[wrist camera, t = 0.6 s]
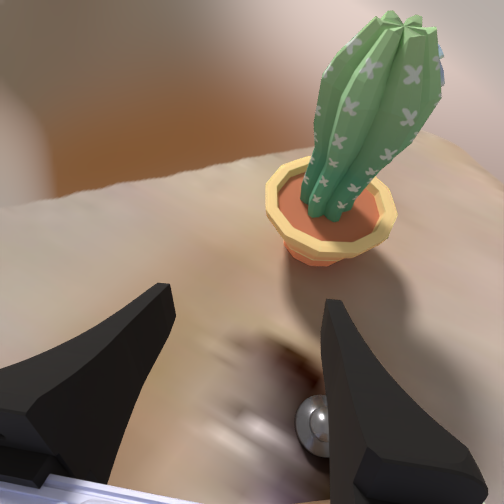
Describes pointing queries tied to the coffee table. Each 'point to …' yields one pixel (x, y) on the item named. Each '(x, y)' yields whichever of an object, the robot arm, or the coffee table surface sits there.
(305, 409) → the disc
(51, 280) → the coffee table surface
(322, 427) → the brass cylinder knob
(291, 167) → the potted cactus
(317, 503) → the block
